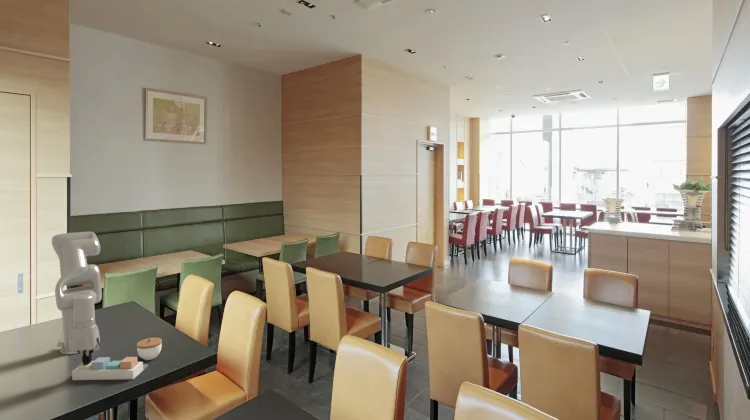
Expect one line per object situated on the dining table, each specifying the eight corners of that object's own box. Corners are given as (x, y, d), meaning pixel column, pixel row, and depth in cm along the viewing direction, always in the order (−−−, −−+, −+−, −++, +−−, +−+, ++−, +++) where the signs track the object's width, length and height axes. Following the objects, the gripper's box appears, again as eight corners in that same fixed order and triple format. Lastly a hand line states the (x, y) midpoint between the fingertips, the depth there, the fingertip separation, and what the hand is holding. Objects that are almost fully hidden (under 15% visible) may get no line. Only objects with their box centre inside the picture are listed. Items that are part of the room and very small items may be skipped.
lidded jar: (144, 364, 183) (143, 345, 182) (132, 358, 189) (131, 340, 188) (167, 355, 192) (166, 337, 192) (155, 350, 198) (154, 332, 197)
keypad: (72, 380, 169) (71, 371, 169) (91, 366, 181) (90, 358, 180) (133, 379, 170) (132, 370, 170) (148, 366, 182) (147, 357, 181)
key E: (78, 377, 170) (77, 366, 170) (86, 371, 175) (85, 361, 175) (89, 377, 171) (89, 366, 170) (97, 371, 175) (96, 360, 175)
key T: (106, 376, 171) (105, 365, 171) (113, 371, 176) (112, 360, 175) (117, 376, 171) (117, 365, 171) (124, 371, 176) (123, 360, 175)
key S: (92, 373, 171) (91, 362, 170) (99, 368, 175) (99, 357, 175) (103, 373, 171) (102, 362, 170) (110, 367, 176) (109, 357, 175)
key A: (120, 372, 171) (119, 361, 171) (126, 367, 176) (126, 356, 175) (131, 372, 171) (131, 361, 171) (137, 367, 176) (137, 356, 176)
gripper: (60, 326, 167) (63, 368, 168) (96, 326, 168) (98, 367, 169) (73, 320, 174) (76, 359, 176) (107, 319, 175) (110, 359, 176)
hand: (87, 363), depth 172 cm, fingers closed
